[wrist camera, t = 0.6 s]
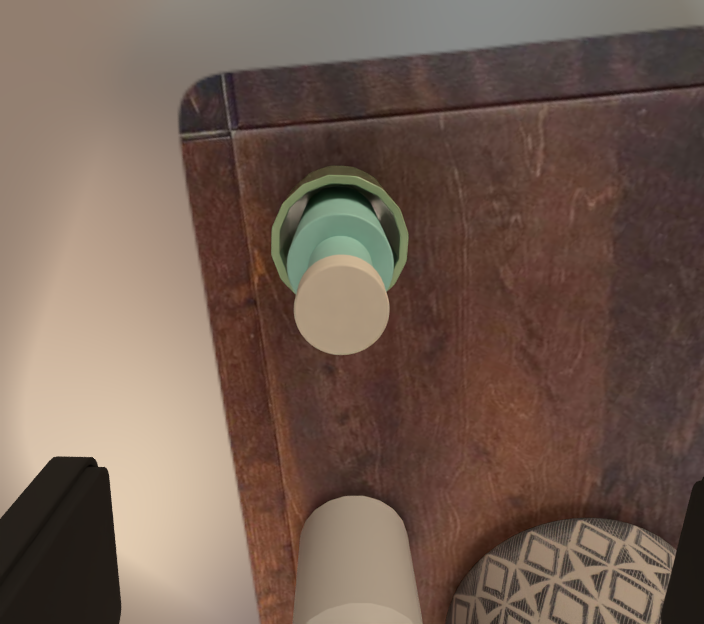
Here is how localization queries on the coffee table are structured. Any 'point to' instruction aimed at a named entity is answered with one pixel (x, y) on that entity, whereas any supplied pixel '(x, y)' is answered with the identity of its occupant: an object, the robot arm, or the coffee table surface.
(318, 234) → the bottle
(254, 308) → the coffee table surface
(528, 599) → the planter
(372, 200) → the holder
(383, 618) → the can
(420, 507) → the coffee table surface
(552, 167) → the coffee table surface
